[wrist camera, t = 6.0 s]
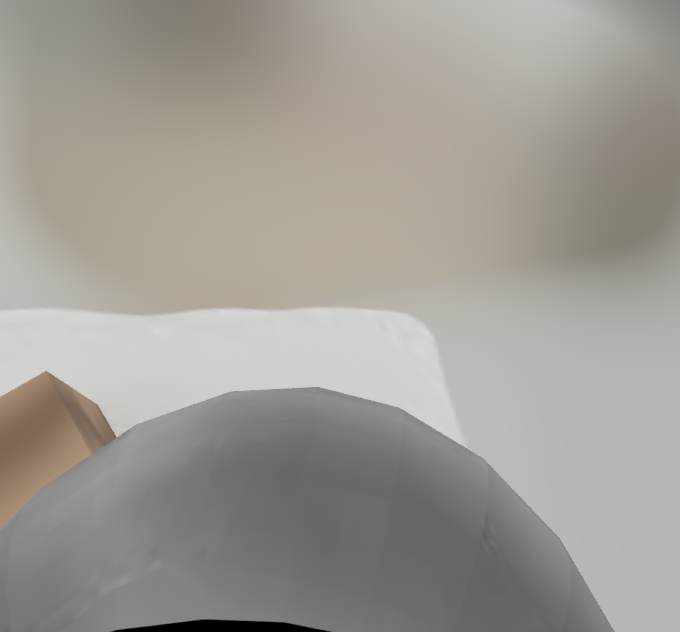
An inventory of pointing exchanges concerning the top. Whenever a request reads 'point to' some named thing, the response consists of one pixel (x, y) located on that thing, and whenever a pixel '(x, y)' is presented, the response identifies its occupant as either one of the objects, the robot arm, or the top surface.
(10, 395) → the walnut block
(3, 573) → the beverage cup
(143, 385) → the top surface
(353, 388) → the top surface
